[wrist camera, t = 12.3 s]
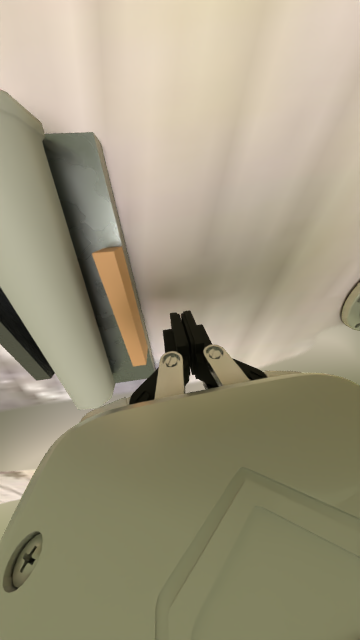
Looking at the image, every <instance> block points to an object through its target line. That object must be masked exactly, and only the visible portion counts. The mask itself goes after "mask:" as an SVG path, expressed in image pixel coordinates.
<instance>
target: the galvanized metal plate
mask: <svg viewBox="0 0 360 640" xmlns="http://www.w3.org/2000/svg"><path fill="white" fill-rule="evenodd" d="M42 142H43V147H44V151H45V154H46V157H47V161H48V164H49V167H50V170H51V174H52V177H53V180H54V184H55V187H56V190H57V194H58V197H59V200H60V203H61V207H62V210H63V213H64V217H65V220H66V223H67V227H68V230H69V233H70V236H71V240H72V243H73V246H74V250H75V253H76V256H77V259H78V263H79V266H80V269H81V273H82V276H83V279H84V283H85V286H86V289H87V292H88V296H89V299H90V302H91V306H92V309H93V312H94V316H95V319H96V322H97V325H98V329H99V332H100V335H101V339H102V342H103V345H104V349H105V352H106V355H107V358H108V362H109V365H110V368H111V372H112V375H113V378H114V382H115V383H120V382H126V381H133V380H140V379H146V378H149V377H150V376H151V375H152V373H153V372H154V371H155V370H156V368H155V364H154V360H153V356H152V352H151V348H150V343H149V339H148V335H147V331H146V327H145V323H144V319H143V315H142V311H141V307H140V302H139V298H138V294H137V290H136V286H135V282H134V278H133V274H132V270H131V266H130V261H129V257H128V253H127V249H126V245H125V241H124V237H123V233H122V229H121V224H120V220H119V216H118V212H117V208H116V204H115V200H114V196H113V192H112V188H111V183H110V179H109V175H108V171H107V167H106V163H105V159H104V155H103V151H102V146H101V143H100V142H99V140H98V139H97V137H96V136H95V134H94V133H93V132H87V133H59V134H45V138H44V139H43V141H42ZM121 246H122V249H123V252H124V256H125V260H126V264H127V268H128V272H129V276H130V280H131V284H132V287H133V291H134V295H135V299H136V303H137V307H138V311H139V315H140V319H141V323H142V326H143V330H144V334H145V338H146V342H147V346H148V351H147V363H146V365H140V366H133V365H132V362H131V359H130V356H129V354H128V351H127V348H126V345H125V343H124V340H123V337H122V335H121V332H120V329H119V326H118V324H117V321H116V318H115V316H114V313H113V310H112V307H111V305H110V302H109V299H108V297H107V294H106V291H105V288H104V286H103V283H102V280H101V278H100V275H99V272H98V269H97V267H96V264H95V261H94V258H93V256H92V253H93V252H96V251H98V250H101V249H103V248H109V247H121ZM0 344H1V345H2V346H3V347H4V348H5V349H6V350H7V351H8V352H9V353H10V354H11V355H12V356H13V357H14V358H15V359H16V360H17V361H18V362H19V363H20V364H21V365H22V366H23V367H24V368H25V369H26V370H27V371H28V372H29V373H30V374H31V375H32V376H33V377H34V378H35V379H36V380H44V379H51V378H52V376H53V375H54V373H55V372H54V371H53V369H52V367H51V366H50V364H49V363H48V361H47V360H46V358H45V356H44V355H43V353H42V352H41V350H40V349H39V347H38V345H37V344H36V342H35V341H34V339H33V338H32V336H31V334H30V333H29V331H28V330H27V328H26V326H25V325H24V323H23V322H22V320H21V319H20V317H19V315H18V314H17V312H16V311H15V309H14V308H13V306H12V304H11V303H10V301H9V300H8V298H7V297H6V295H5V293H4V292H3V290H2V289H1V287H0Z"/></svg>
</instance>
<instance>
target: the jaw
mask: <svg viewBox="0 0 360 640" xmlns="http://www.w3.org/2000/svg"><path fill="white" fill-rule="evenodd" d="M92 256H93V258H94V261H95V264H96V267H97V269H98V272H99V275H100V278H101V280H102V283H103V286H104V288H105V291H106V294H107V297H108V299H109V302H110V305H111V307H112V310H113V313H114V316H115V318H116V321H117V324H118V326H119V329H120V332H121V335H122V337H123V340H124V343H125V345H126V348H127V351H128V354H129V356H130V359H131V362H132V365H133V366H140V365H146V363H147V351H148V346H147V342H146V338H145V334H144V330H143V326H142V323H141V319H140V315H139V311H138V307H137V303H136V299H135V295H134V291H133V287H132V284H131V280H130V276H129V272H128V268H127V264H126V260H125V256H124V252H123V249H122V246H121V247H109V248H103V249H101V250H98V251H96V252H93V253H92Z"/></svg>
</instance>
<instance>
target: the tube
mask: <svg viewBox="0 0 360 640" xmlns="http://www.w3.org/2000/svg"><path fill="white" fill-rule="evenodd" d="M44 138H45V134H44V130H43V127H42V123H41V122H40V121H39V120H38V119H37V118H36V117H34V116H33V115H32V114H31V113H30V112H29V111H27V110H26V109H25V108H24V107H23V106H22V105H21V104H19V103H18V102H17V101H16V100H15V99H14V98H12V97H11V96H10V95H9V94H8V93H7V92H5V91H2V90H0V287H1V289H2V290H3V292H4V293H5V295H6V297H7V298H8V300H9V301H10V303H11V304H12V306H13V308H14V309H15V311H16V312H17V314H18V315H19V317H20V319H21V320H22V322H23V323H24V325H25V326H26V328H27V330H28V331H29V333H30V334H31V336H32V338H33V339H34V341H35V342H36V344H37V345H38V347H39V349H40V350H41V352H42V353H43V355H44V356H45V358H46V360H47V361H48V363H49V364H50V366H51V367H52V369H53V371H54V372H55V374H56V375H57V377H58V379H59V380H60V382H61V383H62V385H63V386H64V388H65V390H66V391H67V393H68V394H69V396H70V397H71V399H72V401H73V402H74V404H75V405H76V407H77V408H78V410H83V409H97V408H99V407H101V406H102V405H104V404H105V403H106V402H107V401H108V400H110V399H111V398H112V395H113V391H114V387H115V382H114V378H113V375H112V372H111V368H110V365H109V362H108V358H107V355H106V352H105V349H104V345H103V342H102V339H101V335H100V332H99V329H98V325H97V322H96V319H95V316H94V312H93V309H92V306H91V302H90V299H89V296H88V292H87V289H86V286H85V283H84V279H83V276H82V273H81V269H80V266H79V263H78V259H77V256H76V253H75V250H74V246H73V243H72V240H71V236H70V233H69V230H68V227H67V223H66V220H65V217H64V213H63V210H62V207H61V203H60V200H59V197H58V194H57V190H56V187H55V184H54V180H53V177H52V174H51V170H50V167H49V164H48V161H47V157H46V154H45V151H44V147H43V142H42V141H43V139H44Z"/></svg>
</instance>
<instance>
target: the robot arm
mask: <svg viewBox="0 0 360 640" xmlns="http://www.w3.org/2000/svg"><path fill="white" fill-rule="evenodd" d="M170 319H171V327H172V329H168V330H163V336H164V346H165V354H163V355H162V357H161V358H160V362H159V367H158V368H157V369H156V370H155V371H154V372H153V373H152V375H151V376H150V377H149V378H148V379H147V380H146V381H145V382H144V383H143V384H142V385H141V386H140V387H139V388H138V389H137V390H136V391H135V392H134V393H133V394H132V396H131V397H129V398H126V397H124V398H121V399H119V400H117V401H114V402H112V403H109V404H107V405H104V406H102V407H99V408H97V409H95V410H92V411H90V412H89V413H87V414H86V415H85V416H84V417H83V418H82V419H81V421H80V422H79V424H77V425H75V426H74V427H72V428H71V429H69V430H68V431H67V432H65V433H64V434H63V435H61V436H60V437H59V438H58V439H57V440H56V441H55V442H54V444H53V445H52V446H51V447H50V449H49V450H48V452H47V453H46V454H45V456H44V457H43V459H42V461H41V462H40V464H39V466H38V468H37V469H36V471H35V473H34V475H33V476H32V478H31V480H30V482H29V484H28V486H27V488H26V490H25V492H24V494H23V496H22V498H21V500H20V502H19V504H18V506H17V508H16V510H15V512H14V514H13V516H12V518H11V520H10V522H9V524H8V526H7V528H6V530H5V532H4V534H3V536H2V539H1V541H0V640H360V385H358V384H356V383H354V382H352V381H351V380H348V379H346V378H343V377H339V376H335V375H330V374H323V373H301V372H296V371H265V372H262V371H261V370H259V369H257V368H254V367H252V366H249V365H247V364H245V363H242V362H240V361H237V360H235V359H233V358H231V357H230V355H229V354H228V353H227V352H226V350H225V349H224V348H223V347H221V346H219V345H212V343H211V341H210V339H209V337H208V335H207V333H206V331H205V329H204V327H203V325H202V324H201V325H196V323H195V320H194V318H193V316H192V314H191V311H184V312H183V313H182V314H181V318H180V315H179V314H177V313H170ZM181 320H182V321H181ZM342 320H343V323H344V324H345V325H346V326H348V327H350V328H352V329H354V330H358V331H360V282H359V283H358V285H357V286H356V287H355V288H354V289H353V291H352V292H351V294H350V295H349V297H348V298H347V300H346V302H345V304H344V306H343V310H342ZM190 369H191V372H192V375H195V377H196V379H199V380H201V381H203V385H204V387H205V389H206V390H201V391H196V392H190V393H185V386H186V384H187V383H188V382H189V376H190Z"/></svg>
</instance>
